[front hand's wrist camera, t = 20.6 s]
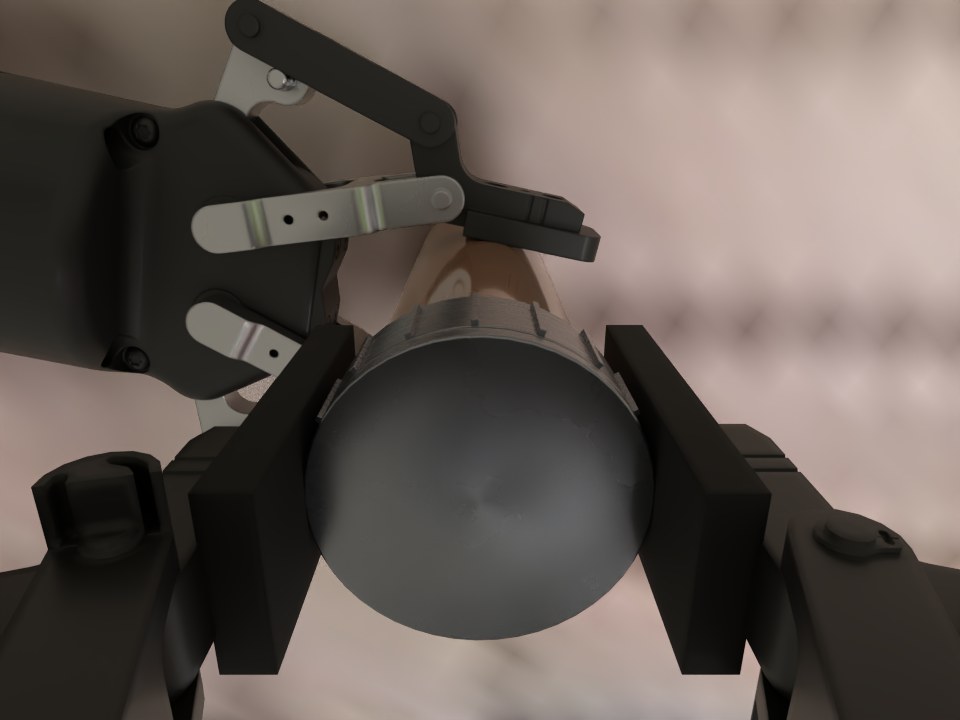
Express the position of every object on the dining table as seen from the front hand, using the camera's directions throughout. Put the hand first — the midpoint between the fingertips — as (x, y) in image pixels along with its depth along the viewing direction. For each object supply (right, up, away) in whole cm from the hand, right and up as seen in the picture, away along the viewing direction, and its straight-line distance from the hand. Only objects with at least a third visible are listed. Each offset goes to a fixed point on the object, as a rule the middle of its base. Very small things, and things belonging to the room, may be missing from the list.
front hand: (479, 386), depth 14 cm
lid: (0, -1, -4) cm, 4 cm away
